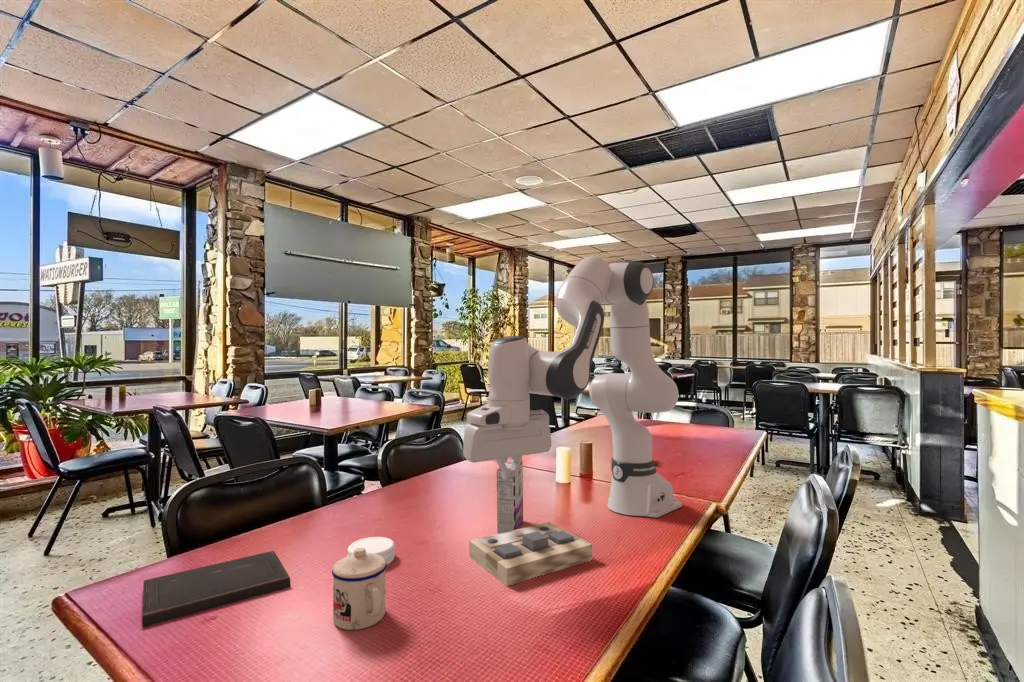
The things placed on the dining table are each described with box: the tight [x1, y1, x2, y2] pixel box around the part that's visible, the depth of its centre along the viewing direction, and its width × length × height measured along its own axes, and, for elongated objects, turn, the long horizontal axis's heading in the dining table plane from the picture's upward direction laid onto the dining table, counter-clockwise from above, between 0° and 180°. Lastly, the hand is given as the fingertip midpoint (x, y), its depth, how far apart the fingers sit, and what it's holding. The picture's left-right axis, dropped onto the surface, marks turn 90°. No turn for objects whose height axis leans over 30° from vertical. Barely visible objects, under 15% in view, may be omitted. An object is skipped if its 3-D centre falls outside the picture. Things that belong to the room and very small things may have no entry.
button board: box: [468, 521, 593, 587], centre depth 108 cm, size 22×16×4 cm
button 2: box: [548, 531, 573, 545], centre depth 110 cm, size 4×4×3 cm
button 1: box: [495, 544, 521, 560], centre depth 102 cm, size 4×4×3 cm
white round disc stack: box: [346, 536, 396, 566], centre depth 107 cm, size 10×10×4 cm
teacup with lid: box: [331, 548, 388, 631], centre depth 83 cm, size 12×9×12 cm
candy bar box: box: [496, 458, 524, 534], centre depth 126 cm, size 11×5×16 cm, turn 168°
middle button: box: [523, 531, 548, 552], centre depth 106 cm, size 4×4×3 cm
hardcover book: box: [142, 550, 291, 628], centre depth 94 cm, size 16×23×2 cm
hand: (509, 477), depth 103 cm, fingers closed
